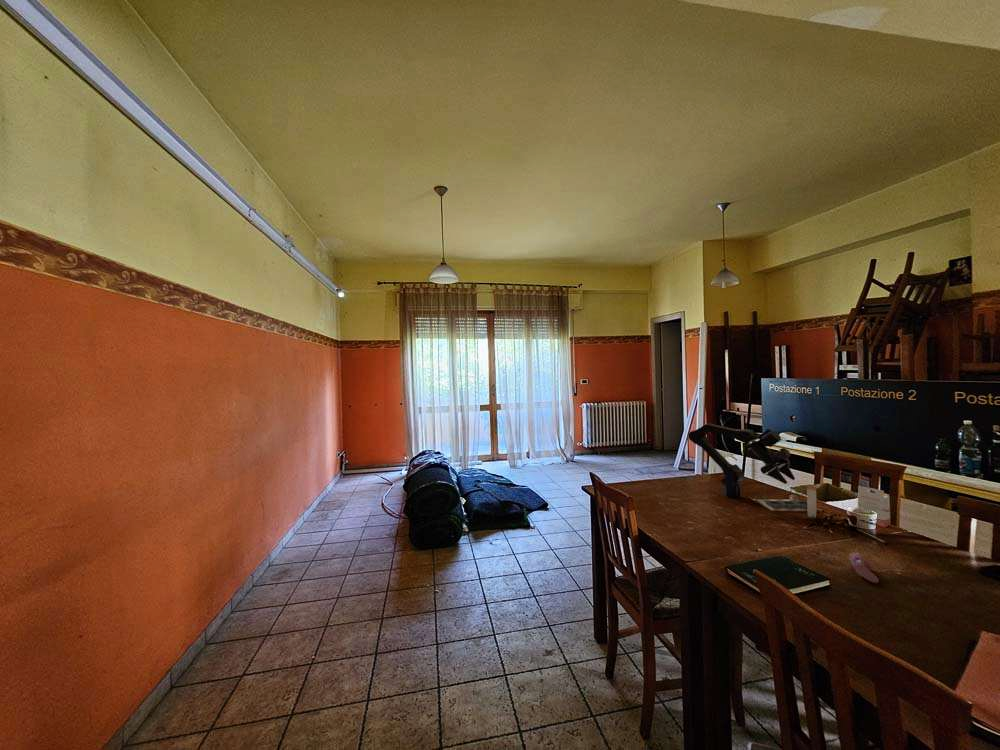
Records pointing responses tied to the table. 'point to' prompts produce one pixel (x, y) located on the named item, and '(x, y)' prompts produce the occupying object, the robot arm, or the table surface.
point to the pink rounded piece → (863, 567)
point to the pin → (811, 500)
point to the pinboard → (785, 504)
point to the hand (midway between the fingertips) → (790, 481)
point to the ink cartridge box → (875, 504)
